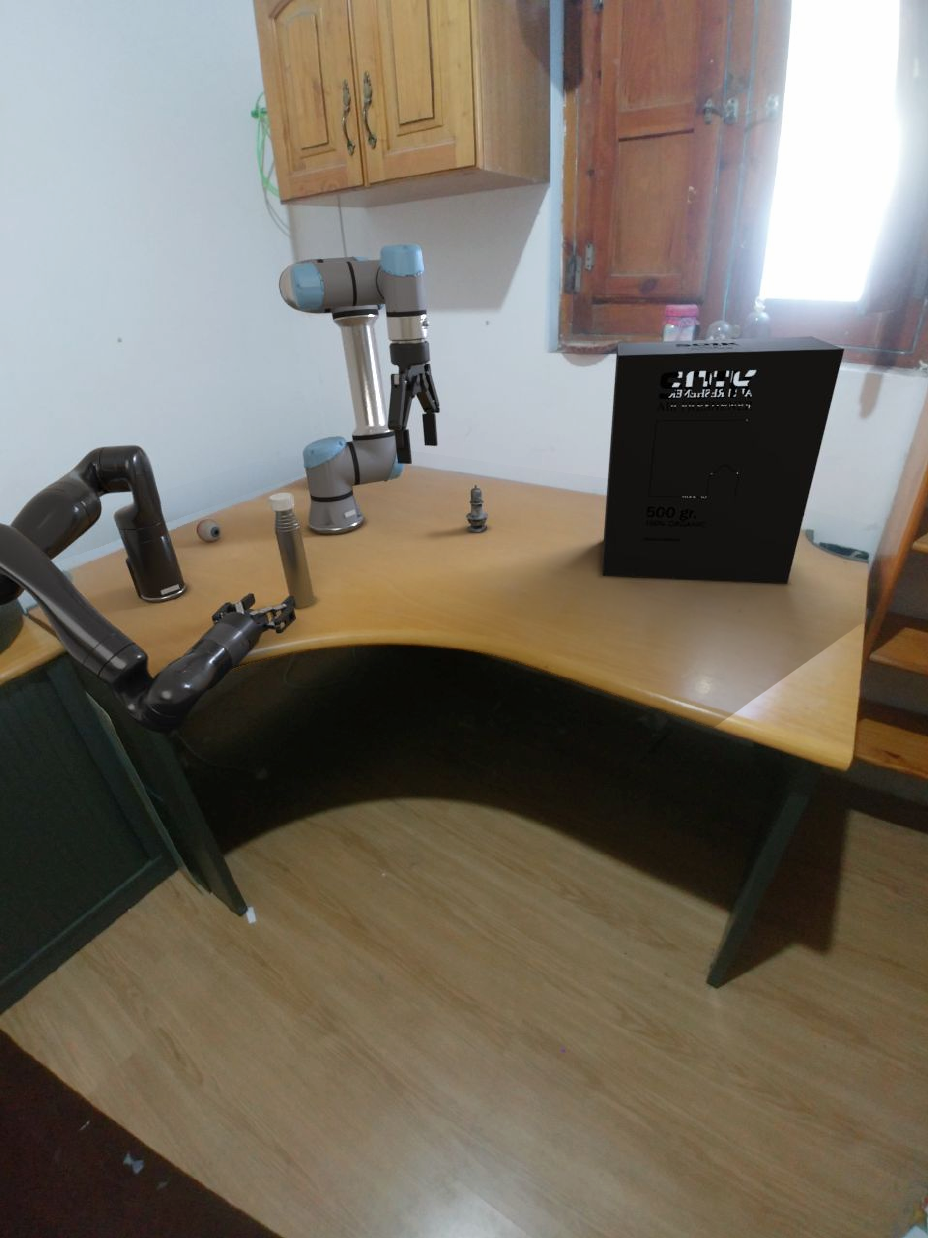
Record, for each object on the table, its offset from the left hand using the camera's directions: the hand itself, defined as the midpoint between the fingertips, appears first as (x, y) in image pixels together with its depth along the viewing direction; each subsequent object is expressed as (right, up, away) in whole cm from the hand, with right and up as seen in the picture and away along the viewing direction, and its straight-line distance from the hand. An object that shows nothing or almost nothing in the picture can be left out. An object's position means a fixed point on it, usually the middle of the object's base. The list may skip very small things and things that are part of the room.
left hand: (272, 598), depth 118 cm
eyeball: (-31, +17, +46) cm, 58 cm away
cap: (+1, +20, +1) cm, 20 cm away
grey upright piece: (+41, +20, +44) cm, 63 cm away
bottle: (+3, 0, +12) cm, 13 cm away
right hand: (+28, +30, +6) cm, 41 cm away
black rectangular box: (+88, +9, +21) cm, 91 cm away
